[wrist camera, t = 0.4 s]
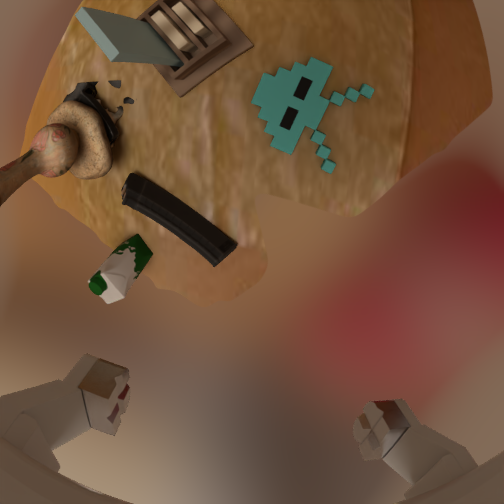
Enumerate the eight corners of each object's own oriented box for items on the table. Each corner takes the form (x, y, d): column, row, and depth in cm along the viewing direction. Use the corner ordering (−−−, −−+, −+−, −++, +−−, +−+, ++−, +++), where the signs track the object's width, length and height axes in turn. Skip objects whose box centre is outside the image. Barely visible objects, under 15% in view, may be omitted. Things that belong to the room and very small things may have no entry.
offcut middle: (166, 23, 37) (150, 17, 32) (173, 17, 37) (158, 10, 31) (192, 53, 41) (178, 49, 36) (200, 47, 41) (187, 42, 35)
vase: (66, 162, 59) (-30, 224, 30) (66, 84, 47) (-47, 118, 18) (132, 171, 59) (27, 251, 30) (139, 80, 46) (6, 102, 18)
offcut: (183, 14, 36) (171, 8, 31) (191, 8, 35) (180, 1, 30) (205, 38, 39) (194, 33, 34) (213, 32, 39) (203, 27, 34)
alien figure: (371, 89, 42) (277, 45, 40) (374, 89, 40) (277, 43, 39) (329, 170, 54) (240, 131, 52) (331, 174, 52) (238, 133, 50)
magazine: (240, 270, 59) (109, 210, 45) (232, 278, 61) (104, 222, 47) (236, 221, 71) (132, 168, 57) (229, 229, 73) (127, 178, 59)
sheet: (151, 31, 38) (74, 15, 19) (157, 26, 38) (81, 6, 18) (182, 67, 43) (111, 61, 23) (188, 62, 42) (119, 52, 23)
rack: (129, 32, 40) (113, 29, 34) (193, -19, 32) (181, -29, 27) (182, 97, 48) (169, 98, 43) (254, 46, 41) (248, 40, 35)
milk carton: (138, 229, 68) (98, 275, 52) (157, 255, 72) (124, 305, 56) (119, 241, 71) (80, 285, 55) (137, 265, 75) (104, 312, 59)
